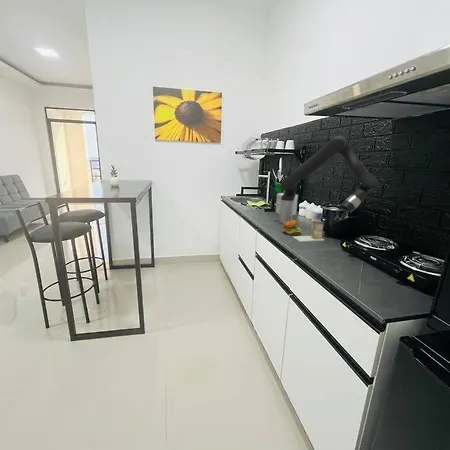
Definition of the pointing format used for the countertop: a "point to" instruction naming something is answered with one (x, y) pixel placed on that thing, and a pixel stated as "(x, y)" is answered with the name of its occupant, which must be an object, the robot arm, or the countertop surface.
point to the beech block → (316, 229)
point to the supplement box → (278, 203)
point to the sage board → (306, 239)
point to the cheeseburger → (292, 227)
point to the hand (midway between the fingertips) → (329, 224)
